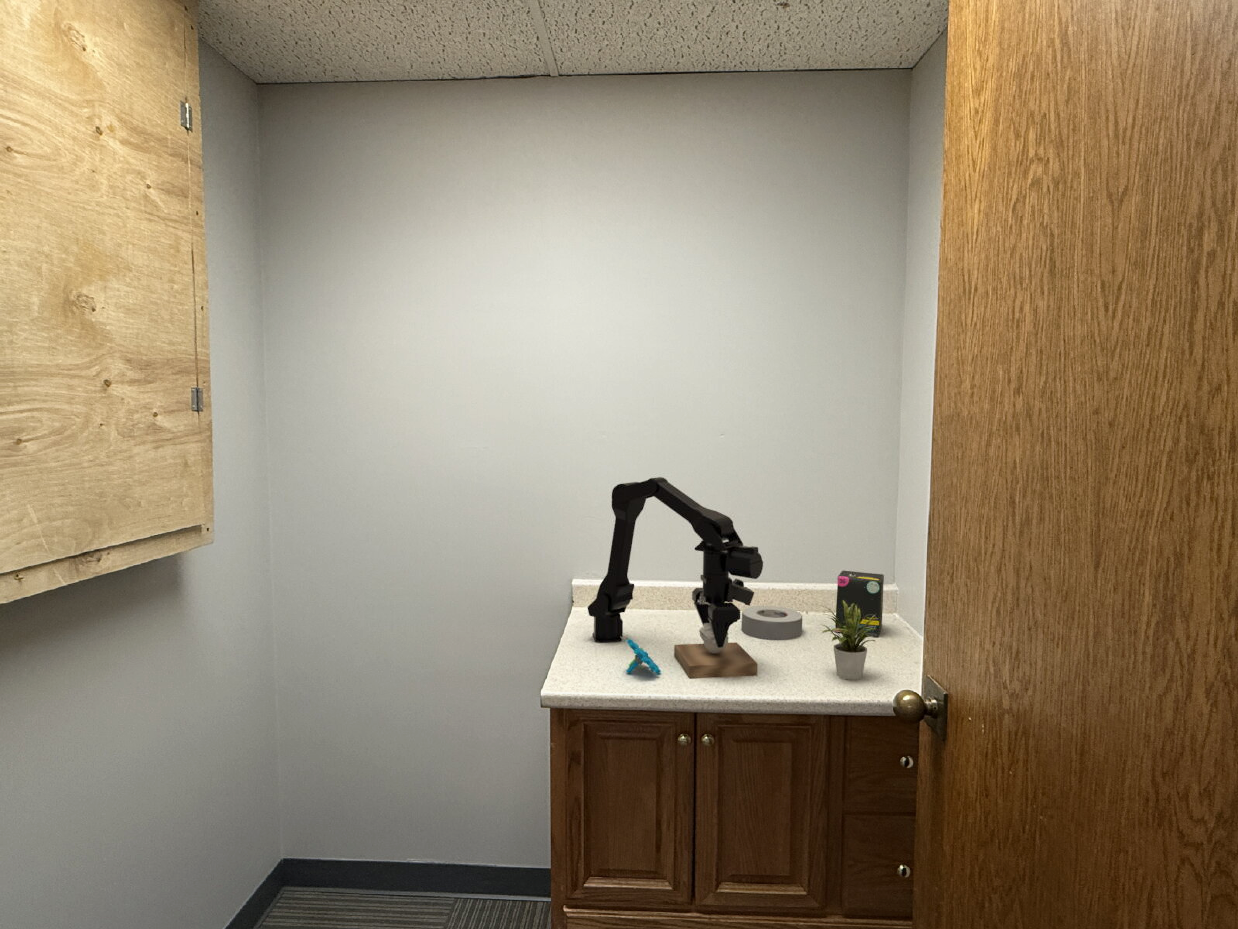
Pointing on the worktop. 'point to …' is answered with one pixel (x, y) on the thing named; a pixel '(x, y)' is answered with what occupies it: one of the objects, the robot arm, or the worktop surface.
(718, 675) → the walnut block
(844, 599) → the tampon box
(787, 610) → the tape roll
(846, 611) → the house plant
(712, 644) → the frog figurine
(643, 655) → the gear
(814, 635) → the worktop surface
